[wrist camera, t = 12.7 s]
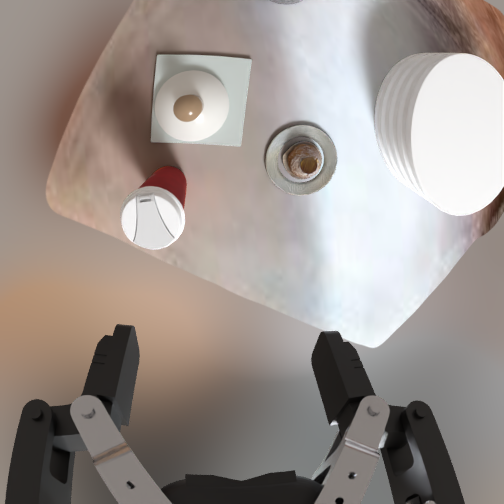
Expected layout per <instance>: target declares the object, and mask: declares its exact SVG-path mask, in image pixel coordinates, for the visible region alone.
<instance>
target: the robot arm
mask: <svg viewBox="0 0 504 504" xmlns="http://www.w3.org/2000/svg"><path fill="white" fill-rule="evenodd" d="M270 1H272V2H276V3H279V4H294V3H298V2H300V1H302V0H270ZM139 357H140V355H139V346H138V342H137V336H136V331H135V327H134V326H131V325H120V324H117V325H116V327H115V330H114V333H113V336H108V335H105V336H104V337H103V338H102V339H101V340H100V341H99V343H98V344H97V347H96V350H95V355H94V356H93V360H92V363H91V366H90V369H89V372H88V376H87V379H86V383H85V386H84V390H83V393H82V395H81V396H80V397H78V398H77V399H75V400H74V401H73V403H72V404H69V405H63V406H52V407H50V406H49V405H48V404H47V403H46V402H45V401H43V400H39V399H36V400H31V401H29V402H28V403H27V404H26V405H25V406H24V408H23V410H22V414H21V418H20V422H19V426H18V430H17V434H16V438H15V443H14V448H13V452H12V458H11V463H10V469H9V476H8V484H7V490H6V500H5V504H71V491H72V477H73V467H74V458H75V451H85V450H88V451H89V452H90V454H91V456H92V458H93V463H94V465H95V467H96V469H97V470H98V472H99V474H100V475H101V477H102V479H103V480H104V482H105V484H106V485H107V487H108V488H109V490H110V491H111V493H112V494H113V496H114V497H115V499H116V500H117V501H118V503H119V504H360V503H361V500H362V499H363V497H364V494H365V492H366V490H367V488H368V485H369V483H370V481H371V478H372V476H373V473H374V471H375V468H376V465H377V463H378V460H379V456H380V454H379V453H377V450H378V447H379V448H380V450H381V453H382V457H383V460H384V464H385V468H386V472H387V475H388V479H389V483H390V487H391V491H392V495H393V499H394V503H395V504H465V503H464V499H463V496H462V493H461V489H460V486H459V483H458V480H457V477H456V474H455V471H454V468H453V465H452V463H451V460H450V457H449V454H448V451H447V449H446V446H445V443H444V441H443V438H442V436H441V433H440V430H439V428H438V425H437V423H436V420H435V418H434V416H433V413H432V411H431V409H430V407H429V406H428V405H427V404H425V403H424V402H422V401H413V402H411V403H410V404H409V405H408V406H407V407H399V406H391V405H388V404H387V402H386V401H385V400H384V399H382V398H380V397H378V396H376V395H375V393H374V390H373V388H372V386H371V383H370V381H369V379H368V376H367V374H366V372H365V369H364V368H363V365H362V362H361V361H360V358H359V356H358V353H357V351H356V349H355V348H354V347H353V346H352V345H351V344H350V343H349V342H343V339H342V337H341V335H340V333H339V332H338V331H324V332H321V333H320V335H319V337H318V340H317V343H316V345H315V348H314V351H313V353H312V358H311V361H312V368H313V371H314V374H315V377H316V381H317V384H318V388H319V391H320V395H321V398H322V401H323V404H324V408H325V412H326V415H327V419H328V422H329V425H336V424H338V426H339V431H338V432H337V434H336V436H335V439H334V440H333V442H332V444H331V446H330V448H329V450H328V452H327V454H326V456H325V458H324V460H323V462H322V464H321V465H320V466H319V468H318V469H317V471H316V472H315V473H314V475H313V476H312V478H311V479H308V478H305V477H301V476H296V474H295V471H286V472H276V473H268V474H265V475H261V476H258V477H255V478H251V479H248V480H244V481H239V480H233V479H228V478H223V477H218V476H214V475H189V474H186V476H185V478H186V479H184V480H179V481H175V482H173V483H170V484H168V485H166V486H164V487H163V488H161V489H160V488H159V487H158V486H157V485H156V483H155V482H154V481H153V479H152V478H151V477H150V476H149V474H148V473H147V472H146V470H145V469H144V467H143V466H142V465H141V463H140V462H139V461H138V459H137V458H136V456H135V455H134V453H133V452H132V450H131V449H130V447H129V446H128V445H127V443H126V442H125V440H124V439H123V437H122V436H121V434H120V428H121V425H126V426H128V425H129V418H130V411H131V405H132V399H133V393H134V387H135V381H136V376H137V370H138V365H139Z"/></svg>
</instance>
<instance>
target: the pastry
mask: <svg viewBox="0 0 504 504" xmlns="http://www.w3.org/2000/svg"><path fill="white" fill-rule="evenodd" d="M295 137H308V138H311V139H313V140H314V141H316V142H317V143H318V144H319V145H320V147H321V148H322V150H323V153H324V164H323V167H322V169H321V171H320V173H319V174H318V175H317V176H316V177H315V178H313V179H312V180H310V181H307V182H302V183H297V182H293V181H290V180H288V179H287V178H285V177H284V176H283V175H282V173H281V172H280V170H279V167H278V162H277V161H278V160H277V159H278V154H279V151H280V149H281V148H282V146H283V145H284V144H285V143H286V142H287V141H289V140H291V139H292V138H295ZM265 162H266V170H267V173H268V176H269V177H270V179H271V180H272V182H273V183H274V184H275V185H276V186H277V187H278V188H279V189H281V190H282V191H284V192H286V193H288V194H291V195H308V194H312V193H314V192H316V191H319V190H320V189H322V188H323V187H324V186H326V185H327V184H328V182H329V181H330V180H331V178H332V176H333V174H334V172H335V170H336V164H337V152H336V148H335V146H334V144H333V142H332V141H331V139H330V138H329V136H328V135H327V134H325V133H324V132H323V131H322V130H320V129H318V128H316V127H313V126H310V125H296V126H292V127H289V128H287V129H285V130H283V131H281V132H280V133H279V134H277V135H276V136H275V137H274V139H273V140H272V141H271V143H270V145H269V147H268V150H267V153H266V159H265ZM321 163H322V157H321V153H320V151H319V149H318V148H317V147H316V146H315V145H314V144H313V143H311V142H306V141H305V142H304V141H301V142H298V143H296V144H294V145H293V146H291V147H290V148H289V149H288V150H287V151H286V153H285V154H284V155H283V164H284V167H285V169H286V171H287V172H288V173H289V174H290V175H291V176H292V177H294V178H296V179H307V178H310V177H311V176H313V175H315V174H317V172H318V171H319V169H320V166H321Z"/></svg>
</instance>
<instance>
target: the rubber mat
mask: <svg viewBox="0 0 504 504" xmlns="http://www.w3.org/2000/svg"><path fill="white" fill-rule="evenodd" d="M251 62H252V59H244V58H234V57H222V56H207V55H157V62H156V71H155V82H154V94H153V108H152V126H151V142H163V143H193V144H211V145H225V146H238V147H241V142H242V133H243V125H244V117H245V109H246V101H247V93H248V85H249V77H250V70H251ZM191 70H196V71H203V72H206V73H209V74H211V75H213V76H214V77H216V78H217V79H218V80H219V81H220V82H221V83H222V84H223V86H224V87H225V89H226V91H227V94H228V97H229V112H228V115H227V118H226V120H225V122H224V124H223V125H222V126H221V128H220V129H219V130H218V131H217V132H216V133H214V134H213V135H211V136H210V137H208V138H205V139H203V140H199V141H190V142H188V141H182V140H178V139H175V138H173V137H171V136H170V135H168V134H167V133H166V132H165V131H164V130H163V129H162V128H161V126H160V125H159V123H158V121H157V118H156V115H155V100H156V97H157V94H158V92H159V90H160V88H161V87H162V86H163V84H164V83H165V82H166V81H167V80H168V79H170V78H171V77H173V76H174V75H176V74H178V73H181V72H184V71H191Z"/></svg>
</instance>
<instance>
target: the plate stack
mask: <svg viewBox="0 0 504 504" xmlns="http://www.w3.org/2000/svg"><path fill="white" fill-rule="evenodd" d="M374 123H375V134H376V140H377V144H378V147H379V150H380V153H381V156H382V158H383V160H384V162H385V164H386V165H387V167H388V169H389V170H390V171H391V173H392V174H393V175H394V176H395V177H396V178H397V179H398V180H399V181H400V182H401V183H403V184H404V185H406V186H407V187H409V188H410V189H412V190H413V191H415V192H416V193H418V194H419V195H420V196H422V197H423V198H425V199H426V200H427V201H429V202H430V203H432V204H433V205H434V206H436V207H437V208H438V209H440V210H442V211H443V212H445V213H448V214H451V215H458V216H462V215H469V214H472V213H475V212H477V211H479V210H481V209H483V208H484V207H485V206H487V205H488V204H489V203H490V202H491V201H492V200H493V199H494V198H495V197H496V196H497V195H498V194H499V192H500V191H501V190H502V188H503V186H504V80H503V78H502V77H501V75H500V74H499V73H498V72H497V70H496V69H495V68H494V67H493V66H492V65H490V64H489V63H488V62H487V61H485V60H484V59H482V58H480V57H478V56H475V55H472V54H467V53H418V54H414V55H410V56H408V57H406V58H404V59H402V60H401V61H399V62H398V63H397V64H396V65H395V66H394V67H393V68H392V69H391V70H390V71H389V73H388V74H387V75H386V77H385V79H384V81H383V83H382V85H381V87H380V90H379V93H378V96H377V100H376V106H375V116H374Z"/></svg>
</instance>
